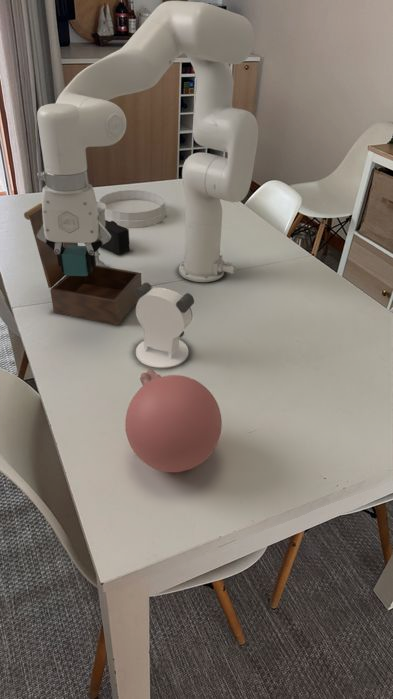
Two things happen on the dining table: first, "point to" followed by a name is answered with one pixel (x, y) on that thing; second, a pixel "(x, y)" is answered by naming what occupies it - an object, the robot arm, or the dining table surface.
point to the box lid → (45, 248)
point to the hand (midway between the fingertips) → (77, 269)
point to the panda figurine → (162, 325)
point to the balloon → (172, 422)
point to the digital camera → (117, 238)
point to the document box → (97, 294)
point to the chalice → (102, 219)
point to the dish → (134, 208)
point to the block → (75, 261)
